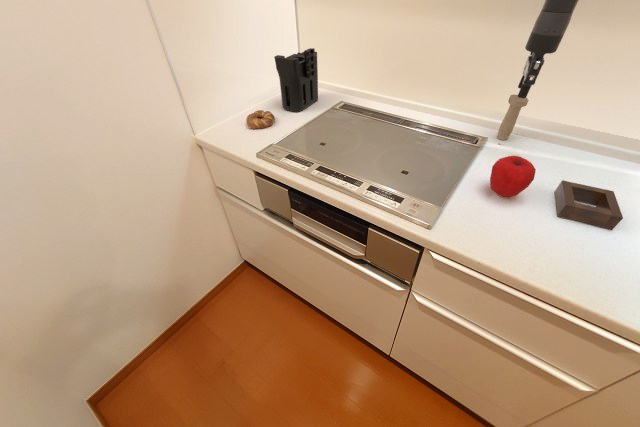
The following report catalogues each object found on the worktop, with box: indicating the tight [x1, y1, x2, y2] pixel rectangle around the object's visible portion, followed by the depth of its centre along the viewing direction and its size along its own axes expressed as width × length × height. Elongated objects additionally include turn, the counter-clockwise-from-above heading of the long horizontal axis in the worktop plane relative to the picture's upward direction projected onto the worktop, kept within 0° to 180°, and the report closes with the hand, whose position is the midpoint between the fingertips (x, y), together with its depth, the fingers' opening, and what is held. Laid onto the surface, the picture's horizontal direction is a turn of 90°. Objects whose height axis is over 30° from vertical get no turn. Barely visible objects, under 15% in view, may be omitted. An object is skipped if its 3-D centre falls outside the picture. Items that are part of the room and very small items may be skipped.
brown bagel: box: [245, 109, 276, 130], centre depth 114 cm, size 12×11×4 cm
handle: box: [496, 94, 529, 145], centre depth 96 cm, size 5×6×15 cm
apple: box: [489, 155, 536, 199], centre depth 77 cm, size 10×10×11 cm
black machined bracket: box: [273, 47, 319, 113], centre depth 122 cm, size 12×21×22 cm, turn 149°
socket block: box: [554, 179, 624, 231], centre depth 73 cm, size 11×11×4 cm
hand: (521, 92), depth 89 cm, fingers open, 8 cm apart
